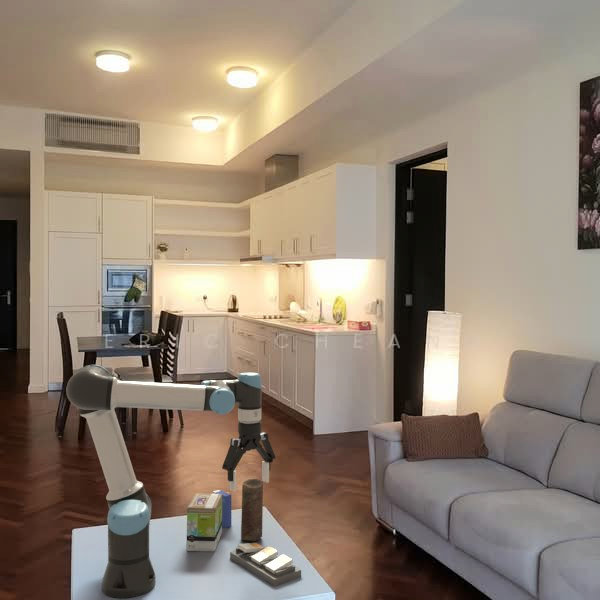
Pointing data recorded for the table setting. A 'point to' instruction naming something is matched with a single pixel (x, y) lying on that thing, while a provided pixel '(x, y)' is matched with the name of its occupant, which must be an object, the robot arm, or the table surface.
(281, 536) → the table surface
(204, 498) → the tea box
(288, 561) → the rocker near
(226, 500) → the walkman
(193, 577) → the table surface
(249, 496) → the brown weathered cylinder
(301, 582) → the table surface
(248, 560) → the rocker switch panel
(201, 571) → the table surface
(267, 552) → the rocker middle
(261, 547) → the rocker far
